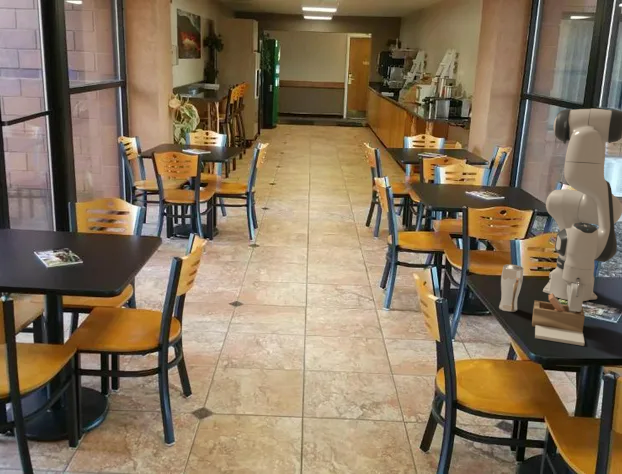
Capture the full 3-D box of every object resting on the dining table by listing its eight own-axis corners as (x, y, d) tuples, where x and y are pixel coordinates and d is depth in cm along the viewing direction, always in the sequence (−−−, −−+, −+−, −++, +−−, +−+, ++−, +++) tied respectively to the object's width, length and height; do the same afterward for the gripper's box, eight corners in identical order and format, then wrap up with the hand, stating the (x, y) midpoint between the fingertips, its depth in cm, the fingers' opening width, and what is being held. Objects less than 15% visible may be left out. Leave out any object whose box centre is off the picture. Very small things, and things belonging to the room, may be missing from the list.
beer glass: (500, 303, 229) (505, 263, 226) (520, 308, 226) (526, 266, 222) (495, 309, 223) (500, 267, 220) (515, 313, 220) (521, 271, 217)
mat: (535, 328, 208) (535, 325, 208) (582, 335, 204) (582, 332, 204) (535, 338, 200) (535, 335, 200) (584, 345, 196) (584, 342, 195)
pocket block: (532, 317, 218) (534, 300, 216) (580, 324, 213) (582, 307, 212) (531, 326, 209) (534, 308, 208) (581, 334, 205) (584, 316, 203)
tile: (545, 297, 213) (552, 292, 212) (566, 324, 213) (573, 319, 212) (545, 302, 208) (552, 297, 207) (566, 329, 208) (574, 325, 207)
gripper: (590, 285, 195) (583, 328, 198) (586, 268, 214) (580, 308, 217) (568, 281, 197) (561, 324, 200) (566, 265, 216) (560, 305, 219)
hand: (571, 316), depth 209 cm, fingers closed
